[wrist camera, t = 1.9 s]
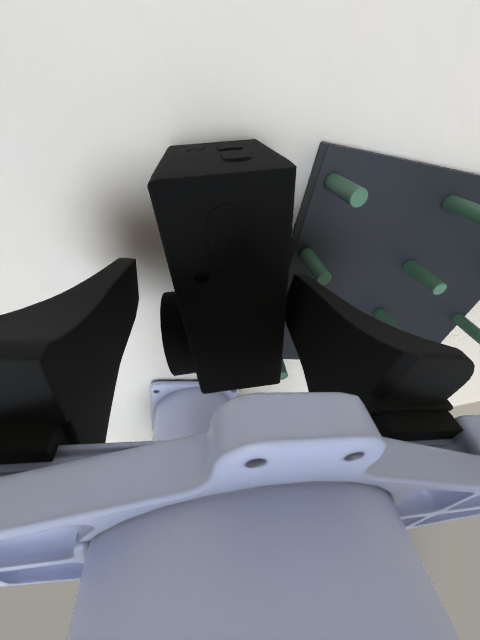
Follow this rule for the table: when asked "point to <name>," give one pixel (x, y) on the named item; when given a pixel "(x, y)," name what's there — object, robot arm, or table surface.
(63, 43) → the table surface
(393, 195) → the rack
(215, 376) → the digital camera
